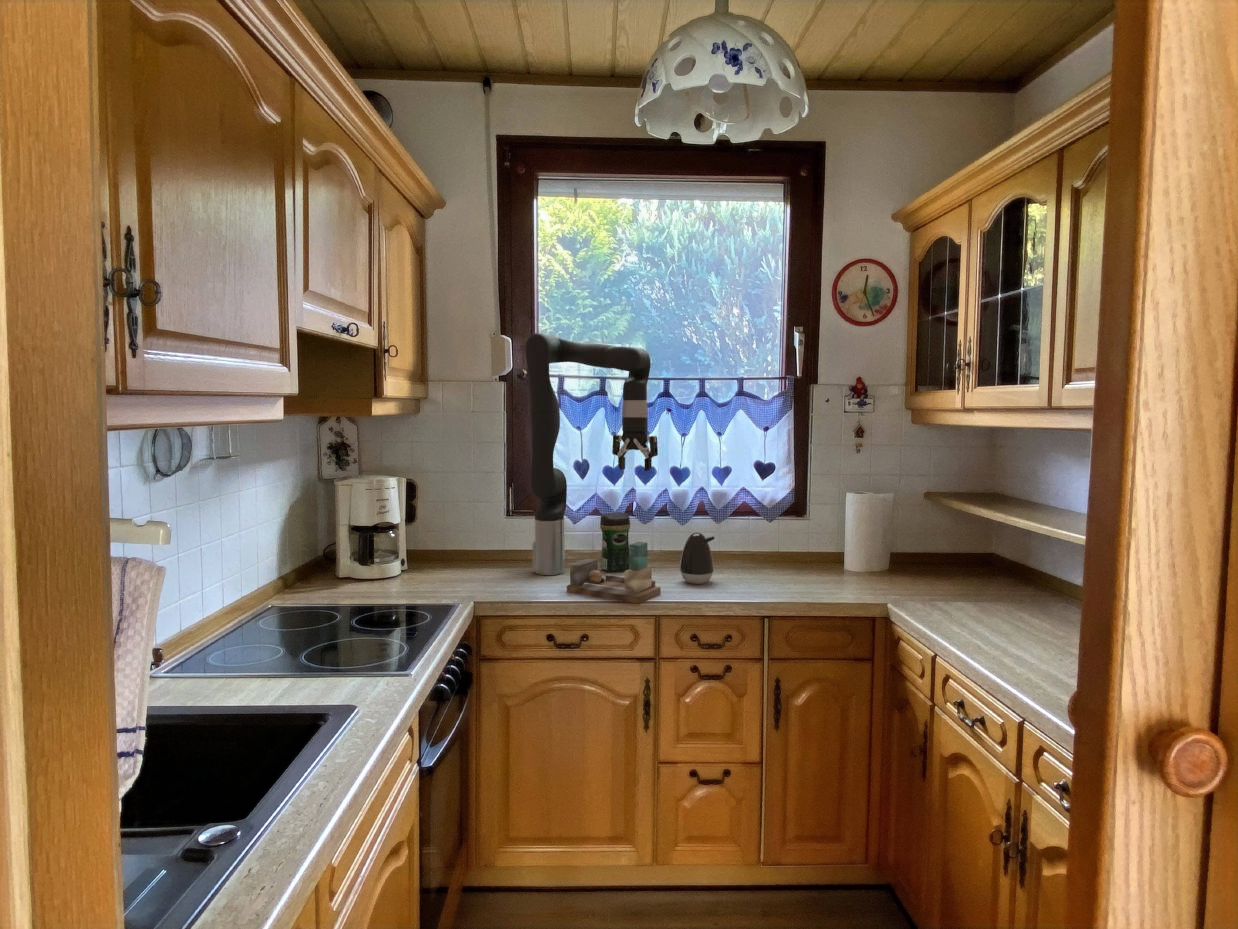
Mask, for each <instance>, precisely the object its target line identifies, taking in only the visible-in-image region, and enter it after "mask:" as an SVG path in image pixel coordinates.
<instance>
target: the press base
mask: <svg viewBox="0 0 1238 929" xmlns="http://www.w3.org/2000/svg"><path fill="white" fill-rule="evenodd" d="M598 562H599V561H598V558H591V557H588V558H585V559H583V560H580V561H579V560H578V561H577V562H574V563H571V564H569V578H570V579H569V580H570V581H569V582H570V583H569V584H568V585H566V593H568V594H575V595H582V596H588V597H592V598H594V597H595V598H599V597H601V599H605V598H607V599H606V600H613V601H619V602H626V603H632V604H638V605H640V604H643V603H645V602H648V600H651V599H653V598H655V597H657V596H660V595H661V593H662V592H661V588H662V587H661V586H656V580H652V586H651V587H649V588H647V589H644V590H642V591H640V592H638V593H635V590H632V589H626V588H625V575H623V576H622V575H616V574H609V573H608V574H605V578H604V577H602V580H601V581H600V582H599V583H597V584H595V582H593V581H589V579H588V575H589V573H590V572H591V571H593V570H598V571H599V565H598V564H599V563H598Z"/></svg>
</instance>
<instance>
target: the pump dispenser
mask: <svg viewBox="0 0 1238 929" xmlns="http://www.w3.org/2000/svg"><path fill="white" fill-rule="evenodd" d="M714 540H715V536H714V535H713V536H712V535H711V536H708V537H705V535H704V534H702V533H701V532H693V533H691V534H690V535H689V536H688V538H687V539H686V541H685V544H684V546H683V549H682V552H681V556H680V562H679V572H680V574H681V577H682V579H683V580H684V581H685V583H686V582H687V583H688V584H690V585H691V584H692V585H704V584H706V583H708V582H709V581H710V580H711V579H712V576H713V573H714V571H715V568H714V565H715V564H714V558H713V554H712V550H711V547H710V544H709V542H711V541H714Z"/></svg>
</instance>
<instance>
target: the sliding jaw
mask: <svg viewBox="0 0 1238 929" xmlns="http://www.w3.org/2000/svg"><path fill="white" fill-rule="evenodd" d="M652 568H653V567H652V565H651V564H650V565H649V564H648V542H646V541H645V542H644V541H636V542H633V543H629V570H625V571H624V576H625V588H626V589H632V590H635V593H638V592H640V591H642V590H644V589H647V588H649V587H651V586H652V577H653V576H652V572H653V570H652Z"/></svg>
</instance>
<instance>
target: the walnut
mask: <svg viewBox="0 0 1238 929" xmlns="http://www.w3.org/2000/svg"><path fill="white" fill-rule="evenodd" d="M602 578H603V574H602V573H601V571H600V570H599V569H598V570H593V571H591V572H590V573H589V575H588V579H589V581H593V582H595V584H597V583H599V582H600V581H601V580H602Z"/></svg>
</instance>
